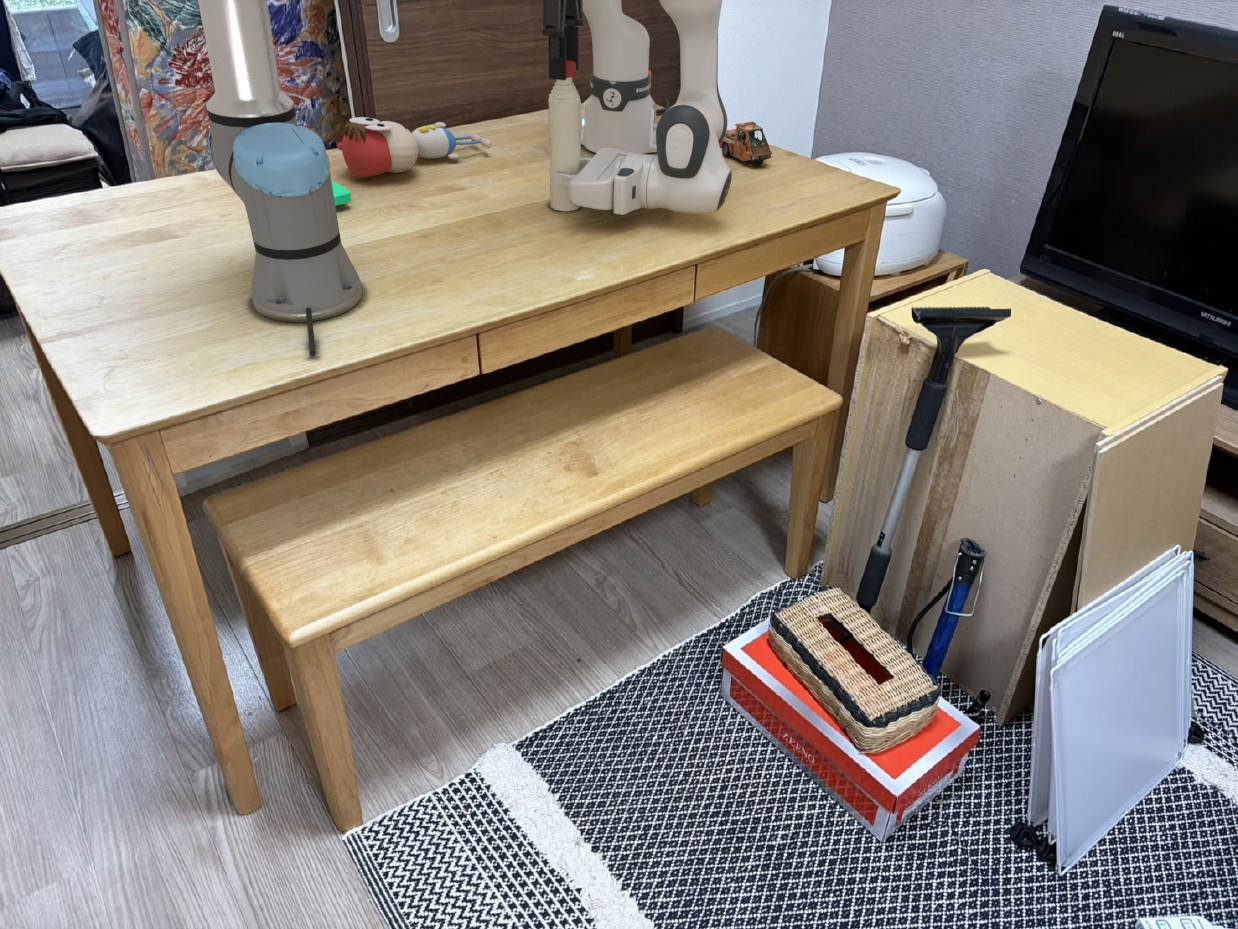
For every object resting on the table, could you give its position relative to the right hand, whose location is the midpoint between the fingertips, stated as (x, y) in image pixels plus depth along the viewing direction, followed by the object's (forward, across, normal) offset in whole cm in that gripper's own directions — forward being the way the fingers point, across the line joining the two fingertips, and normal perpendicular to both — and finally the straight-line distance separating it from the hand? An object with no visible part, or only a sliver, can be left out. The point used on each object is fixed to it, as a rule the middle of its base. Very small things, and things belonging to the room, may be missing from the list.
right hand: (560, 170), depth 162 cm
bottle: (-1, 0, +6) cm, 6 cm away
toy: (+33, -11, +6) cm, 35 cm away
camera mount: (+41, +14, +6) cm, 43 cm away
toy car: (-27, -36, +6) cm, 45 cm away
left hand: (-1, 0, -16) cm, 16 cm away
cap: (-1, 0, -18) cm, 18 cm away
